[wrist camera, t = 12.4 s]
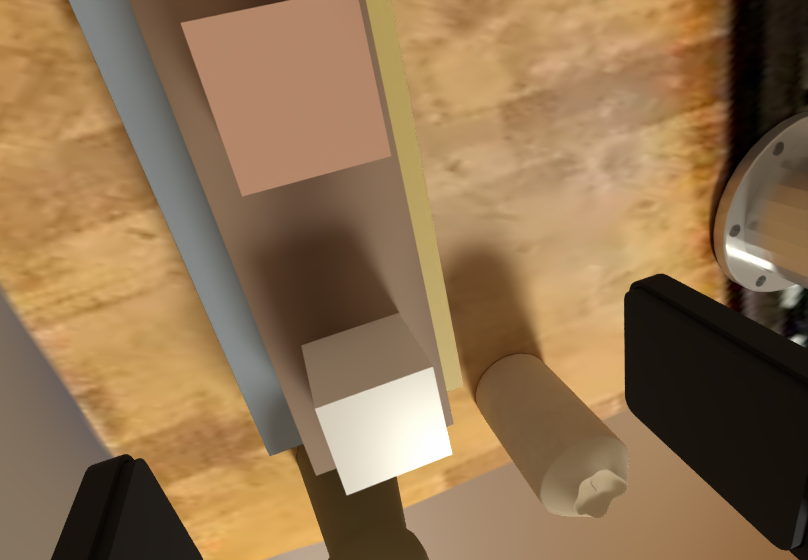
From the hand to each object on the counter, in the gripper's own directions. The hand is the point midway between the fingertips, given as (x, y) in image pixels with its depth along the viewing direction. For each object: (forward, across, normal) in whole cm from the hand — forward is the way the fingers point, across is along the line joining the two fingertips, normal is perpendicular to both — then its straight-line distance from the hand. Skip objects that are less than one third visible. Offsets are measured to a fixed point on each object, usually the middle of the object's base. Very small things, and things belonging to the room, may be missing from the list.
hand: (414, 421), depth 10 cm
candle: (+19, -9, +17) cm, 27 cm away
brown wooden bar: (+14, 0, 0) cm, 14 cm away
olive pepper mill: (+19, +3, +17) cm, 25 cm away
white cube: (+10, 0, +5) cm, 11 cm away
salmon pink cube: (+10, 0, -6) cm, 11 cm away
